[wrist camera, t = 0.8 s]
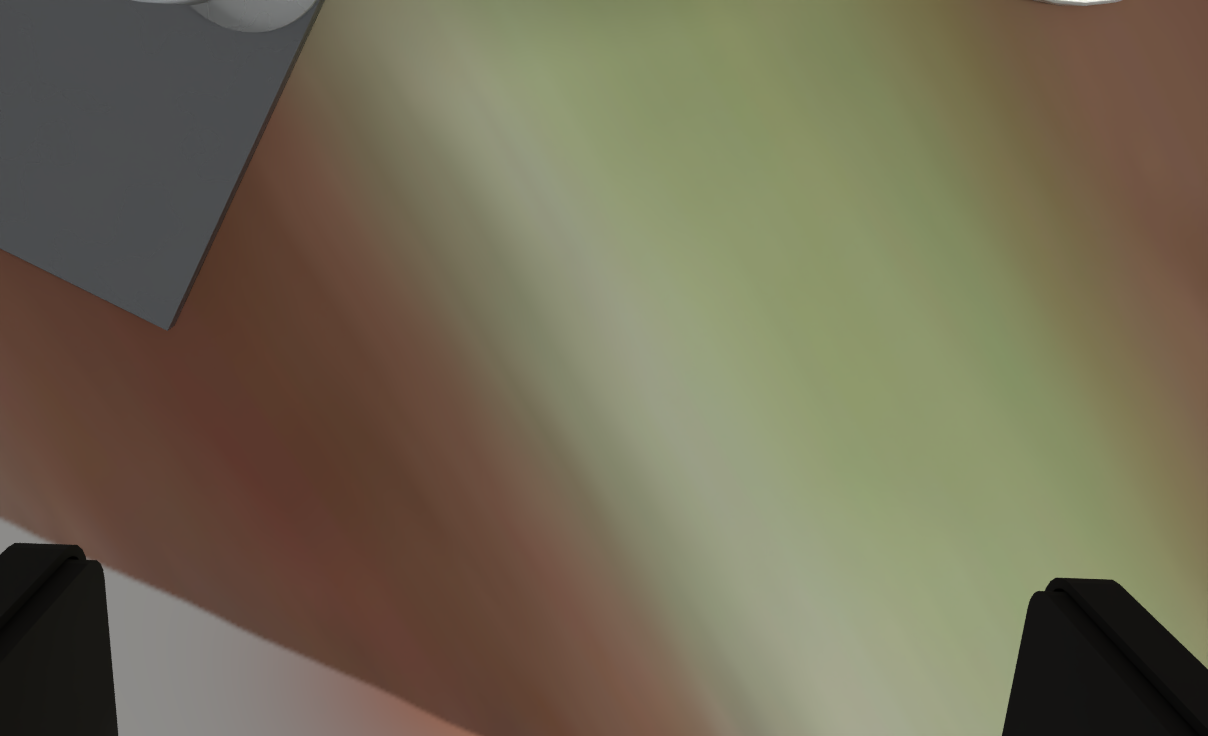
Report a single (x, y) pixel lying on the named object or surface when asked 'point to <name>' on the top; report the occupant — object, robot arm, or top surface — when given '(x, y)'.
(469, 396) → the top surface
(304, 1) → the grey metal rounded piece
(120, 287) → the board
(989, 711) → the top surface
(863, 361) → the top surface
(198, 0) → the bar
